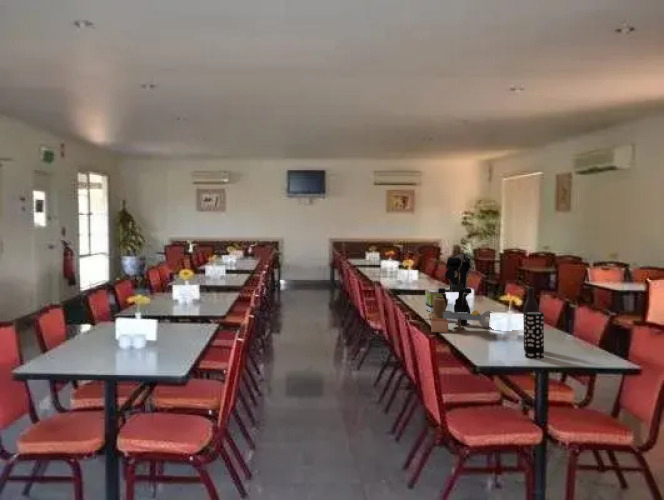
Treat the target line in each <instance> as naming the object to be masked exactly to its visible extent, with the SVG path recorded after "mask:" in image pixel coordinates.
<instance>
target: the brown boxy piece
mask: <svg viewBox="0 0 664 500" xmlns="http://www.w3.org/2000/svg"><path fill="white" fill-rule="evenodd" d="M430 329H431V330H430V332H431V333H449V321H448V319H432V315H431V319H430Z"/></svg>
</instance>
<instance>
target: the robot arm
mask: <svg viewBox="0 0 664 500" xmlns="http://www.w3.org/2000/svg"><path fill="white" fill-rule="evenodd" d="M472 267H473V263H472V259H471V258H470V257H468V256H467V254H466V253H457V254H456V255H455V256H449V257H448V258H447V260H446V266H445V270H446V269H447V270H446V271H445V273H444V276H445V278H446V279H448V280H449V281H448V282H449V289H448V288H445V287H439V288H437V289H438V293H440V295H442V296H443V298H444V300H445V304H446V306H447V307H448V305H447V299H448V298H447V293H458V295H457V296H458V297H457V298H455V301H454V305H453V311H454V312H453V313H468V314H471V308H470V305H469V301H468V299H467V297H468V296H469V295H470V294H472V292H473V291H472V289H471V287H468V277H469V276H468V275H470V272H471V270H472ZM446 298H447V299H446ZM455 325H457V326H458V322H457V323H456V322H455ZM468 325H470V322H468V320H461V326H468Z"/></svg>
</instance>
